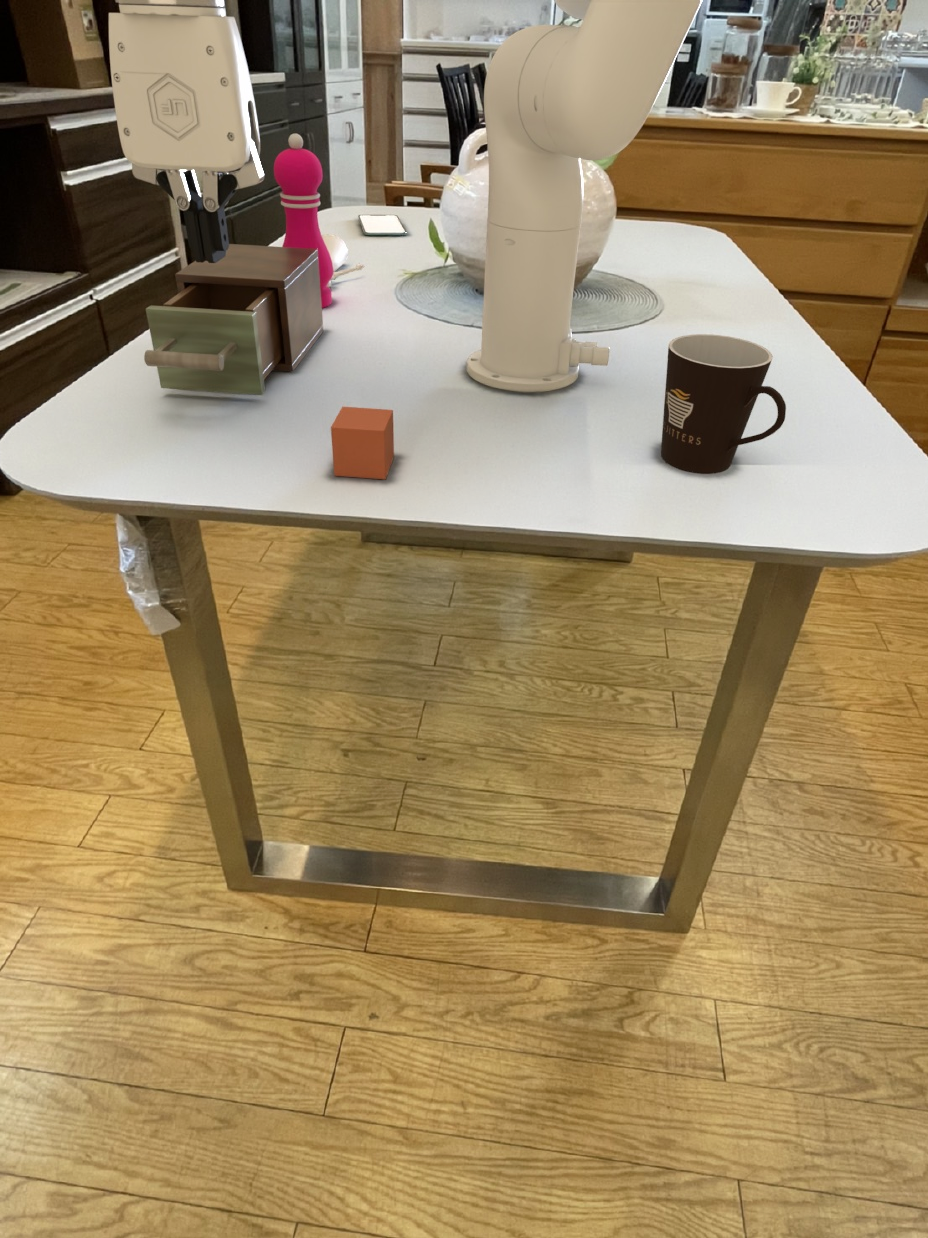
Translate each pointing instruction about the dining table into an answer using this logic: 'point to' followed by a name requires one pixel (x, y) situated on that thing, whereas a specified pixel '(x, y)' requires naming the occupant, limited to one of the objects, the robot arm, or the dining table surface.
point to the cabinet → (274, 270)
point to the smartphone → (381, 225)
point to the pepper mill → (303, 206)
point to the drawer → (216, 338)
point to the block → (363, 442)
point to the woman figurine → (338, 255)
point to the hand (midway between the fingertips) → (211, 258)
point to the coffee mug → (712, 400)
